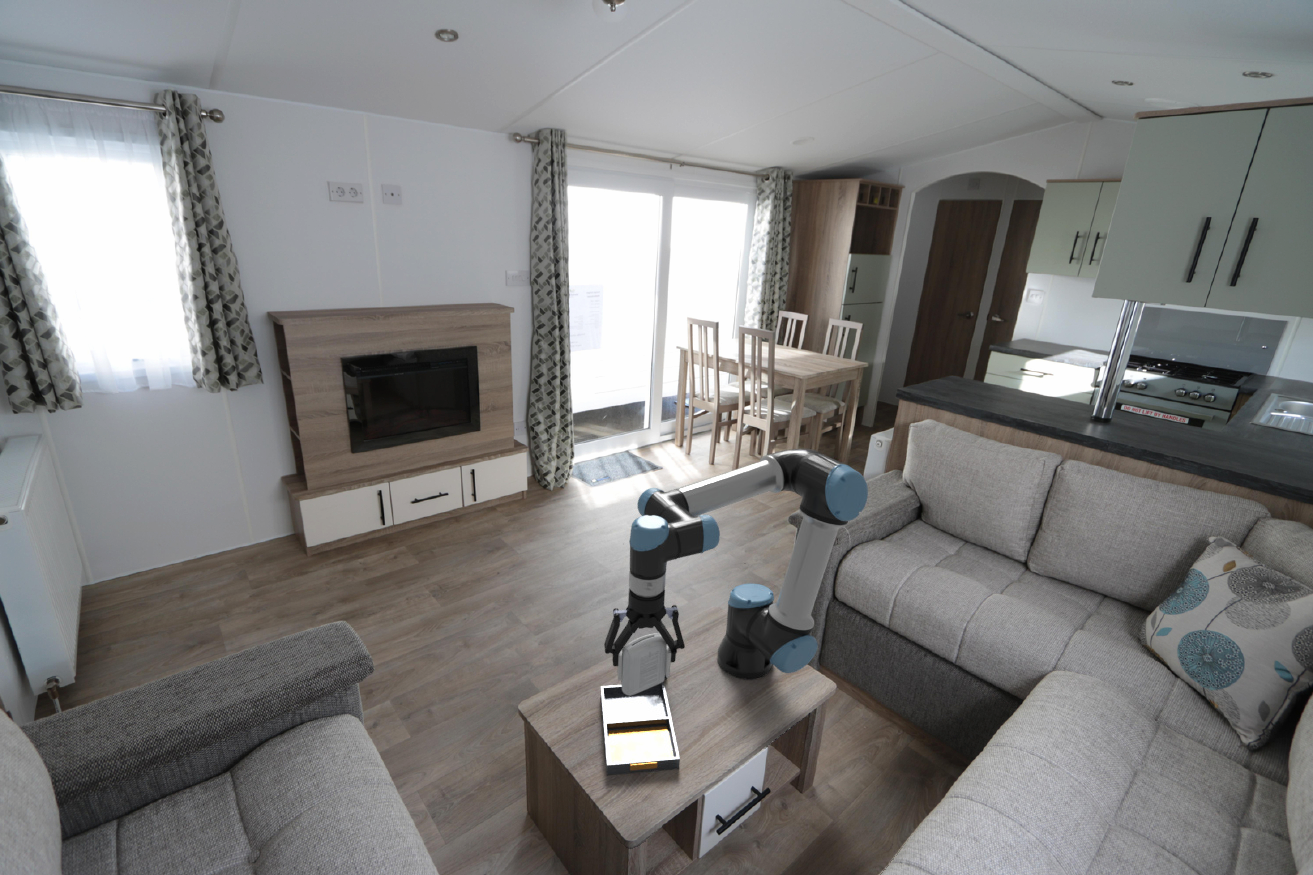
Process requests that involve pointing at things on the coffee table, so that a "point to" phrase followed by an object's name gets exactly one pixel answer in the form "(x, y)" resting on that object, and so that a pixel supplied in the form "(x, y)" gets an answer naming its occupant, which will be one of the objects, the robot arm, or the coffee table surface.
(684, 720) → the coffee table surface
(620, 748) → the tray
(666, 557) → the robot arm
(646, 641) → the photo printer
